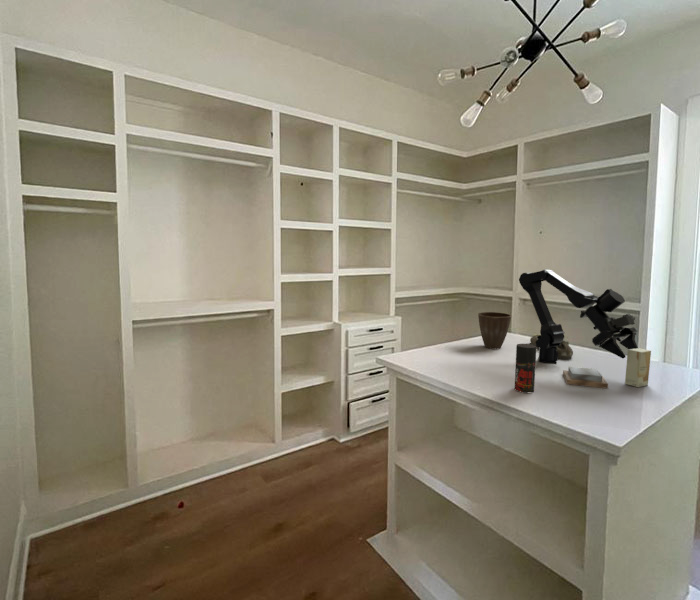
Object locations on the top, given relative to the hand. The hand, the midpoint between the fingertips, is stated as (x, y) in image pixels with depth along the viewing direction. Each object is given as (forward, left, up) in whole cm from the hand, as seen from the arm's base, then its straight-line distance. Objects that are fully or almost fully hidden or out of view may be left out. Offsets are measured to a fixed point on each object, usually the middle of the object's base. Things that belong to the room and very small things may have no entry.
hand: (631, 356), depth 137 cm
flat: (-21, +42, -10) cm, 48 cm away
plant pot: (-46, +39, -10) cm, 61 cm away
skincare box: (+2, -1, -10) cm, 10 cm away
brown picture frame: (-14, -3, -9) cm, 18 cm away
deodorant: (-34, -21, -10) cm, 42 cm away
